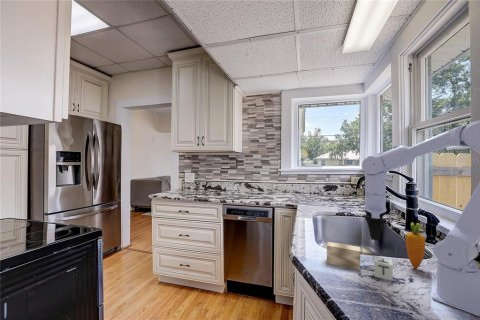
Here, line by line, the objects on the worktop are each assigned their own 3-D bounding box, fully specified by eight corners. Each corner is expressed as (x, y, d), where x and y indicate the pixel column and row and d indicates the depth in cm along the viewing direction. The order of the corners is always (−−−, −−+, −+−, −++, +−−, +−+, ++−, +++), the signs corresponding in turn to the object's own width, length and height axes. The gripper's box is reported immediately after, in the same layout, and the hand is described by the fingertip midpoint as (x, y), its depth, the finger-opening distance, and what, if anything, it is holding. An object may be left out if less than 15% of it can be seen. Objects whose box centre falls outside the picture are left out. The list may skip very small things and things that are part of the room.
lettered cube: (391, 274, 68) (391, 259, 68) (392, 281, 64) (392, 265, 64) (374, 270, 70) (374, 255, 70) (374, 277, 66) (374, 261, 66)
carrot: (406, 263, 75) (406, 219, 75) (425, 268, 71) (425, 222, 72) (405, 269, 71) (405, 222, 71) (425, 274, 68) (425, 225, 68)
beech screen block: (360, 265, 74) (360, 247, 74) (360, 270, 70) (360, 251, 70) (328, 258, 78) (328, 241, 79) (326, 263, 75) (326, 245, 75)
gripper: (361, 190, 79) (361, 228, 79) (360, 195, 67) (359, 240, 66) (385, 192, 75) (384, 231, 75) (388, 197, 63) (387, 245, 63)
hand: (374, 236), depth 71 cm, fingers open, 7 cm apart
